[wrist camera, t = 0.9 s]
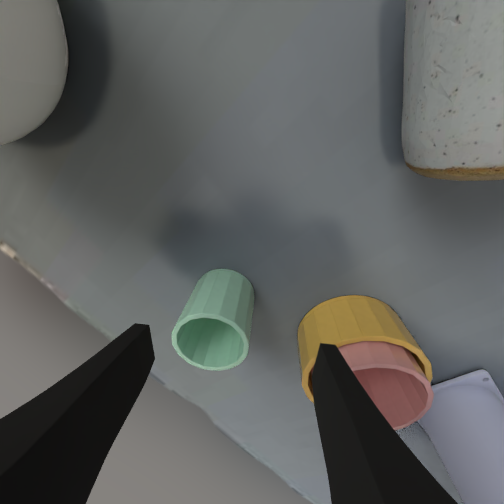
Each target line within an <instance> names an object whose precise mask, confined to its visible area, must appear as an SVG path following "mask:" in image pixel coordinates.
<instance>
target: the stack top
mask: <svg viewBox="0 0 504 504" xmlns="http://www.w3.org/2000/svg"><path fill="white" fill-rule="evenodd" d="M338 349H339V351H340V352H341V354H342V356H343V357H344V359H345V360H346V362H347V364H348V365H349V367H350V368H351V370H352V371H353V373H354V374H355V376H356V378H357V379H358V381H359V382H360V383H361V385H362V386H363V388H364V389H365V391H366V392H367V394H368V395H369V396H370V398H371V399H372V401H373V402H374V404H375V405H376V406H377V408H378V409H379V410H380V412H381V413H382V415H383V416H384V417H385V419H386V420H387V421H388V422H389V424H390V425H391V426H392V428H393V429H394V430H398V429H401V428H405V427H407V426H409V425H411V424H412V423H414V422H416V421H418V420H419V419H421V418H422V417H423V416H424V415H425V414H426V412H427V411H428V410H429V409H430V408H431V405H432V401H433V398H434V393H433V390H432V387H431V385H430V382H429V381H428V379H427V377H426V376H425V374H424V373H423V371H422V370H421V368H420V366H419V365H418V363H417V362H416V360H415V358H414V357H413V355H412V354H411V352H410V351H409V350H408V349H406V348H405V347H403V346H400V345H396V344H392V343H388V342H385V341H361V342H356V343H351V344H346V345H343V346H341V347H338ZM314 365H315V364H314ZM314 365H313V367H312V369H311V371H310V373H311V380H312V372H313V369H314Z"/></svg>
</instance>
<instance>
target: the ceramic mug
mask: <svg viewBox="0 0 504 504" xmlns="http://www.w3.org/2000/svg"><path fill="white" fill-rule="evenodd" d="M401 132H402V148H403V153H404V159H405V163H406V165H407V166H408V167H409V168H410V169H411V170H412V171H414V172H415V173H417V174H420V175H422V176H425V177H430V178H436V179H445V180H458V181H481V180H504V0H406V19H405V40H404V78H403V111H402V123H401Z"/></svg>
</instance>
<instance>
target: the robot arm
mask: <svg viewBox="0 0 504 504" xmlns="http://www.w3.org/2000/svg"><path fill="white" fill-rule="evenodd" d="M154 360H155V356H154V350H153V345H152V339H151V333H150V328H149V325H145V324H136V323H135V324H134V325H132V326H131V327H130V328H129V329H127V330H126V331H125V332H123V333H122V334H121V335H120V336H118V337H117V338H116V339H115V340H113V341H112V342H111V343H109V344H108V345H107V346H106V347H104V348H103V349H102V350H101V351H99V352H98V353H97V354H95V355H94V356H93V357H91V358H90V359H89V360H87V361H86V362H85V363H83V364H82V365H81V366H79V367H78V368H77V369H75V370H74V371H72V372H71V373H70V374H68V375H67V376H65V377H64V378H63V379H61V380H60V381H58V382H57V383H56V384H54V385H53V386H52V387H50V388H48V389H47V390H46V391H44V392H43V393H41V394H39V395H38V396H37V397H35V398H33V399H32V400H31V401H29V402H27V403H26V404H24V405H22V406H21V407H19V408H18V409H16V410H14V411H13V412H11V413H10V414H8V415H6V416H5V417H3V418H1V419H0V504H86V502H87V499H88V497H89V495H90V492H91V489H92V488H93V485H94V483H95V481H96V479H97V476H98V474H99V472H100V470H101V467H102V465H103V463H104V460H105V458H106V456H107V454H108V452H109V450H110V448H111V446H112V444H113V442H114V440H115V438H116V437H117V435H118V433H119V431H120V429H121V427H122V426H123V424H124V422H125V420H126V418H127V416H128V414H129V413H130V411H131V409H132V407H133V405H134V403H135V401H136V399H137V398H138V396H139V394H140V392H141V390H142V388H143V386H144V384H145V382H146V380H147V377H148V375H149V373H150V370H151V367H152V365H153V362H154ZM431 387H432V390H433V393H434V398H433V401H432V405H431V408H430V409H429V410H428V411H427V412H426V414H425V415H424V416H423V417H422V418H421V419H419V420H418V421H417V422H418V423H419V424H420V425H421V426H422V428H423V429H424V430H425V431H426V432H427V433H428V435H429V437H430V439H431V441H432V443H433V445H434V447H435V449H436V451H437V453H438V455H439V457H440V459H441V460H442V462H443V464H444V466H445V468H446V470H447V472H448V474H449V476H450V478H451V480H452V482H453V484H454V486H455V488H456V489H457V491H458V493H459V495H460V497H461V499H462V501H463V503H464V504H504V398H503V396H502V395H501V393H500V391H499V389H498V388H497V386H496V384H495V383H494V381H493V379H492V378H491V376H490V374H489V373H488V372H487V371H486V370H484V369H480V370H477V371H474V372H471V373H468V374H465V375H462V376H459V377H456V378H453V379H450V380H447V381H445V382H442V383H439V384H436V385H433V386H431ZM312 388H313V398H314V406H315V411H316V417H317V422H318V427H319V432H320V437H321V442H322V447H323V452H324V458H325V463H326V468H327V473H328V479H329V485H330V493H331V501H332V504H458V503H457V502H456V501H455V500H454V499H453V498H452V497H451V496H450V495H449V494H448V493H447V492H446V491H445V490H444V488H443V487H442V486H441V485H440V484H439V483H438V482H437V481H436V479H435V478H434V477H433V476H432V475H431V474H430V473H429V471H428V470H427V469H426V468H425V467H424V466H423V465H422V463H421V462H420V461H419V460H418V459H417V457H416V456H415V455H414V454H413V453H412V451H411V450H410V449H409V448H408V447H407V445H406V444H405V443H404V442H403V440H402V439H401V438H400V437H399V435H398V434H397V433H396V432H395V430H394V429H393V428H392V426H391V425H390V424H389V422H388V421H387V420H386V419H385V417H384V416H383V415H382V413H381V412H380V410H379V409H378V408H377V406H376V405H375V404H374V402H373V401H372V399H371V398H370V396H369V395H368V394H367V392H366V391H365V389H364V388H363V386H362V385H361V383H360V382H359V381H358V379H357V378H356V376H355V374H354V373H353V371H352V370H351V368H350V367H349V365H348V364H347V362H346V360H345V359H344V357H343V356H342V354H341V352H340V351H339V349H338V347H337V346H336V345H334V344H325V343H320V346H319V349H318V353H317V357H316V361H315V365H314V369H313V372H312Z"/></svg>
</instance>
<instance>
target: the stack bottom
mask: <svg viewBox="0 0 504 504" xmlns="http://www.w3.org/2000/svg"><path fill="white" fill-rule="evenodd" d="M361 341H385V342H388V343H392V344H396V345H400V346H403V347H405V348H406V349H408V350H409V351H410V352H411V354H412V355H413V357H414V358H415V360H416V362H417V363H418V365H419V366H420V368H421V370H422V371H423V373H424V374H425V376H426V377H427V379H428V381H429V382H430V383H431V380H432V367H431V363H430V361H429V360H428V358H427V357H426V355H425V354H424V353H423V351H422V350H421V348H420V347H419V345H418V344H417V342H416V341H415V339H414V338H413V337H412V335H411V334H410V332H409V331H408V329H407V328H406V326H405V325H404V324H403V322H402V321H401V319H400V318H399V316H398V315H397V314H396V312H395V311H394V310H393V309H392V308H391V307H390V306H389V305H387V304H385V303H384V302H382V301H380V300H378V299H375V298H372V297H367V296H360V295H347V296H340V297H336V298H332V299H329V300H327V301H324V302H322V303H320V304H319V305H317V306H315V307H314V308H313V309H311V310H310V311H309V312H308V313H307V314H306V315H305V316H304V318H303V319H302V321H301V323H300V325H299V328H298V332H297V346H298V355H299V364H300V372H301V381H302V387H303V389H304V391H305V393H306V396H307V397H308V398H309V399H310V400H311V401H312V402H313V403H314V398H313V388H312V380H311V373H310V371H311V369H312V367H313V365H314V364H315V361H316V357H317V353H318V349H319V346H320V343H325V344H334V345H336V346H337V347H341V346H343V345H346V344H351V343H356V342H361Z"/></svg>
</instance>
